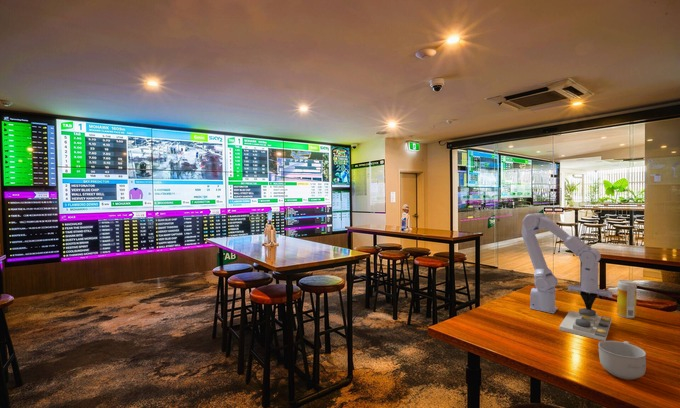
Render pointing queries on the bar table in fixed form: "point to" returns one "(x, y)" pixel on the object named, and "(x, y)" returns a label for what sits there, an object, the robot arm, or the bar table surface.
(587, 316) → the button
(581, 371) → the bar table surface
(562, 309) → the bar table surface
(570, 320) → the board
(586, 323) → the button
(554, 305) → the robot arm
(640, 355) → the light grey bowl
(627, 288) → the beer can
